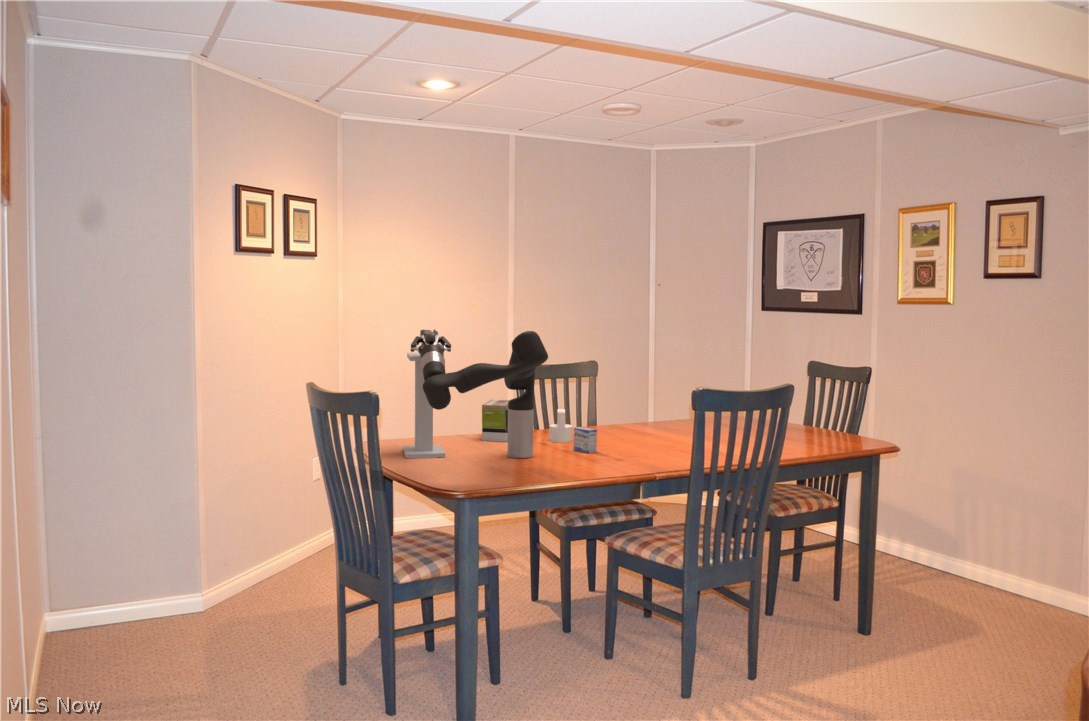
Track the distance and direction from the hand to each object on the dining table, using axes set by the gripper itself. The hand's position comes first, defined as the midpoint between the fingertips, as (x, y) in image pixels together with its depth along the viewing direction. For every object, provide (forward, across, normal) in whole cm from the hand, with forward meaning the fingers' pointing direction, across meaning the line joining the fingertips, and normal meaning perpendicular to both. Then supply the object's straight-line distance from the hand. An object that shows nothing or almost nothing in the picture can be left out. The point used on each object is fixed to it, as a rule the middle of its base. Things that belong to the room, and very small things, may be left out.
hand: (428, 332), depth 291 cm
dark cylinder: (+2, 0, -4) cm, 5 cm away
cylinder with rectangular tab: (+10, +56, -59) cm, 81 cm away
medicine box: (-9, +60, -48) cm, 77 cm away
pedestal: (-6, 0, -49) cm, 49 cm away
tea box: (+17, +32, -63) cm, 72 cm away
